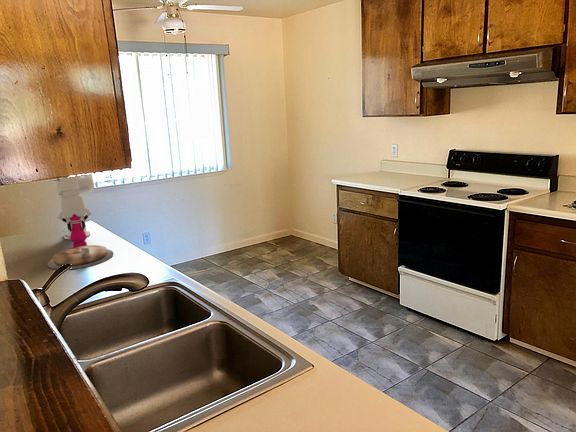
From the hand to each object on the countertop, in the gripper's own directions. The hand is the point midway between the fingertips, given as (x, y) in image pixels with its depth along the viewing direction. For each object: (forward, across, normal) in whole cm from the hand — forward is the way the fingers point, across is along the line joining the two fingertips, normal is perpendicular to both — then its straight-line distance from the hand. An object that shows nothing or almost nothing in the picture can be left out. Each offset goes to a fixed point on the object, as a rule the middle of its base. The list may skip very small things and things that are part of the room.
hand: (77, 229), depth 224 cm
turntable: (+8, +1, -22) cm, 24 cm away
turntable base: (+8, +1, -22) cm, 24 cm away
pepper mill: (+9, 0, 0) cm, 9 cm away
